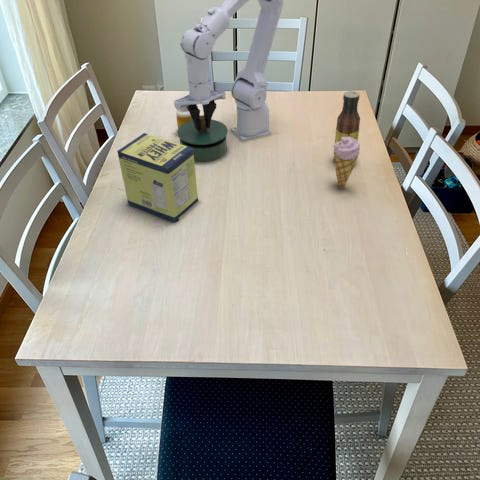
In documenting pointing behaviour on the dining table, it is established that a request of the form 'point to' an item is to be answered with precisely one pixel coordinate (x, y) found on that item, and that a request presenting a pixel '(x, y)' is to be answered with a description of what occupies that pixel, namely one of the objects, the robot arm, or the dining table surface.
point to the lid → (202, 132)
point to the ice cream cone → (345, 158)
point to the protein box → (159, 176)
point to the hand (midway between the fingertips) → (202, 128)
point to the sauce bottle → (348, 118)
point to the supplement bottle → (183, 116)
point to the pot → (208, 151)
